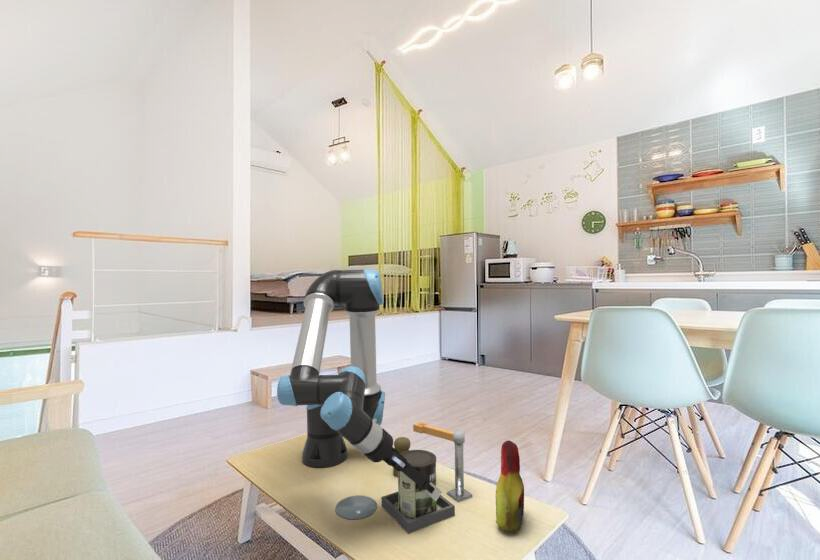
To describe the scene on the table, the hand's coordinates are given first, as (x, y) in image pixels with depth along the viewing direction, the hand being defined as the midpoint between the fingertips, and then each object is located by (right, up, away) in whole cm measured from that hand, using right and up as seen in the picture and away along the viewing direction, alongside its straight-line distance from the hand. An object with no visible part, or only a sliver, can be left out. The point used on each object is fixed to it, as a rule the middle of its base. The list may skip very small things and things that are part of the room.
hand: (426, 486), depth 108 cm
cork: (-7, -6, +19) cm, 21 cm away
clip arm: (+4, +10, +10) cm, 14 cm away
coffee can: (-2, -6, -2) cm, 7 cm away
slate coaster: (-19, -6, 0) cm, 20 cm away
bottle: (+21, -5, -7) cm, 23 cm away
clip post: (+10, -5, +6) cm, 12 cm away
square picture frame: (-2, -6, -2) cm, 6 cm away
